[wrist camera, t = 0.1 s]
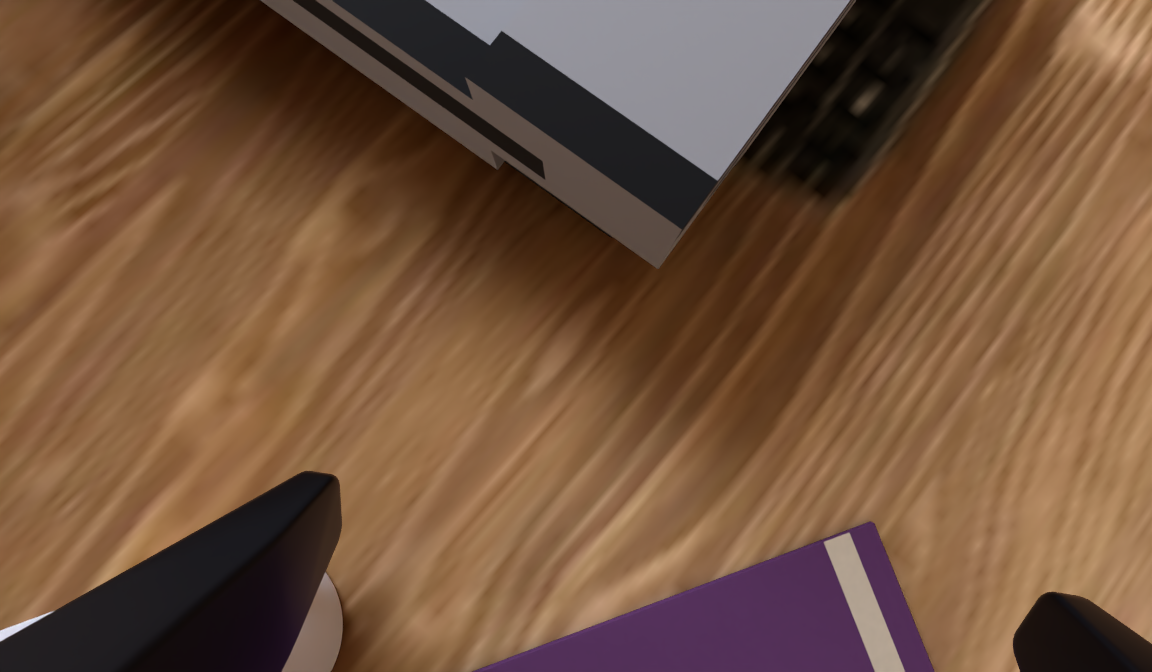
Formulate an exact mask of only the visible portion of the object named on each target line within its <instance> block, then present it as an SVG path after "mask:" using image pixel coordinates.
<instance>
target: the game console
mask: <svg viewBox="0 0 1152 672" xmlns="http://www.w3.org/2000/svg"><path fill="white" fill-rule="evenodd" d="M260 1H262V2H263V3H265V4H266V5H267V6H269V7H270V8H272V9H273V10H274V11H276V12H277V13H279V14H280V15H281V16H283V17H284V18H286V19H287V20H288V21H290V22H291V23H293V24H294V25H295V26H297V27H298V28H300V29H301V30H302V31H304V32H305V33H307V34H308V35H309V36H311V37H312V38H314V39H315V40H316V41H318V42H319V43H321V44H322V45H323V46H325V47H326V48H328V49H329V50H330V51H332V52H333V53H335V54H336V55H337V56H339V57H340V58H342V59H343V60H344V61H346V62H347V63H349V64H350V65H351V66H353V67H354V68H356V69H357V70H358V71H360V72H361V73H363V74H364V75H365V76H367V77H368V78H370V79H371V80H372V81H374V82H375V83H377V84H378V85H379V86H381V87H382V88H384V89H385V90H386V91H388V92H389V93H391V94H392V95H393V96H395V97H396V98H398V99H399V100H400V101H402V102H403V103H405V104H406V105H407V106H409V107H410V108H412V109H413V110H414V111H416V112H417V113H419V114H420V115H421V116H423V117H424V118H426V119H427V120H428V121H430V122H431V123H433V124H434V125H435V126H437V127H438V128H440V129H441V130H442V131H444V132H445V133H447V134H448V135H449V136H451V137H452V138H454V139H455V140H456V141H458V142H459V143H461V144H462V145H463V146H465V147H466V148H468V149H469V150H470V151H472V152H473V153H475V154H476V155H477V156H479V157H480V158H482V159H483V160H484V161H486V162H487V163H489V164H490V165H491V166H493V167H494V168H496V169H497V170H498V169H499V168H500V166H501V165H502V164H503V162H506V163H507V164H508V165H510V166H511V167H513V168H514V169H516V170H517V171H518V172H520V173H521V174H523V175H524V176H525V177H527V178H528V179H530V180H531V181H532V182H534V183H535V184H537V185H538V186H539V187H541V188H542V189H544V190H545V191H546V192H548V193H549V194H551V195H552V196H553V197H555V198H556V199H558V200H559V201H560V202H562V203H563V204H565V205H566V206H567V207H569V208H570V209H572V210H573V211H574V212H576V213H577V214H579V215H580V216H581V217H583V218H584V219H586V220H587V221H589V222H590V223H591V224H593V225H594V226H596V227H597V228H598V229H600V230H601V231H603V232H604V233H605V234H607V235H608V236H610V237H613V238H615V239H616V240H618V241H619V242H620V243H622V244H623V245H625V246H626V247H627V248H629V249H630V250H632V251H633V252H634V253H636V254H637V255H639V256H640V257H642V258H643V259H644V260H646V261H647V262H649V263H650V264H651V265H653V266H654V267H656V268H657V269H659V267H660V266H661V265H662V263H663V262H664V261H665V259H666V258H667V257H668V255H669V254H670V252H671V251H672V250H673V248H674V247H675V246H676V244H677V243H678V242H679V240H680V239H681V237H682V236H683V235H684V233H685V232H686V231H687V229H688V228H689V227H690V225H691V224H692V222H693V221H694V220H695V218H696V217H697V216H698V214H699V213H700V212H701V210H702V209H703V207H704V206H705V205H706V203H707V202H708V201H709V199H710V198H711V196H712V195H713V194H714V192H715V191H716V190H717V188H718V187H719V186H720V184H721V183H722V181H723V180H724V179H725V177H726V176H727V175H728V173H729V172H730V171H731V169H732V168H733V166H736V164H737V163H738V162H739V160H740V159H741V157H742V156H743V155H744V153H745V152H746V151H747V149H748V148H749V147H750V145H751V144H752V142H753V141H754V140H755V138H756V137H757V136H758V134H759V133H760V131H761V130H762V129H763V127H764V126H765V125H766V123H767V122H768V121H769V119H770V118H771V116H772V115H773V114H774V112H775V111H776V110H777V108H778V107H779V106H780V104H781V103H782V101H783V100H784V99H785V97H786V96H787V95H788V93H789V92H790V91H791V89H792V88H793V86H794V85H795V84H796V82H797V81H798V80H799V78H800V77H801V76H802V74H803V73H804V71H805V70H806V69H807V67H808V66H809V65H810V63H811V62H812V60H813V59H814V58H815V56H816V55H817V54H818V52H819V51H820V50H821V48H822V47H823V45H824V44H825V43H826V41H827V40H828V39H829V37H830V36H831V35H832V33H833V32H834V30H835V29H836V28H837V26H838V25H839V24H840V22H841V21H842V20H843V18H844V17H845V15H846V14H847V13H848V11H849V10H850V9H851V7H852V6H853V5H854V3H855V2H856V0H260Z"/></svg>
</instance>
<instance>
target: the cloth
mask: <svg viewBox="0 0 1152 672" xmlns="http://www.w3.org/2000/svg"><path fill="white" fill-rule="evenodd" d="M473 672H934V669H933V667H932V665H931V662H930V660H929V657H928V655H927V652H926V650H925V647H924V645H923V642H922V640H921V637H920V635H919V632H918V630H917V628H916V625H915V623H914V620H913V618H912V615H911V613H910V610H909V608H908V605H907V603H906V600H905V598H904V595H903V593H902V591H901V588H900V586H899V583H898V581H897V578H896V576H895V573H894V571H893V568H892V566H891V563H890V561H889V558H888V556H887V554H886V551H885V549H884V546H883V544H882V541H881V539H880V536H879V534H878V531H877V529H876V526H875V524H874V523H873V522H868V523H865V524H862V525H860V526H857V527H854V528H852V529H849V530H846V531H844V532H841V533H839V534H836V535H833V536H831V537H828V538H825V539H823V540H820V541H817V542H815V543H812V544H809V545H807V546H804V547H801V548H799V549H796V550H793V551H791V552H788V553H786V554H783V555H780V556H778V557H775V558H772V559H770V560H767V561H764V562H762V563H759V564H756V565H754V566H751V567H748V568H746V569H743V570H740V571H738V572H735V573H733V574H730V575H727V576H725V577H722V578H719V579H717V580H714V581H711V582H709V583H706V584H703V585H701V586H698V587H695V588H693V589H690V590H687V591H685V592H682V593H679V594H677V595H674V596H672V597H669V598H666V599H664V600H661V601H658V602H656V603H653V604H650V605H648V606H645V607H642V608H640V609H637V610H634V611H632V612H629V613H626V614H624V615H621V616H619V617H616V618H613V619H611V620H608V621H605V622H603V623H600V624H597V625H595V626H592V627H589V628H587V629H584V630H581V631H579V632H576V633H573V634H571V635H568V636H566V637H563V638H560V639H558V640H555V641H552V642H550V643H547V644H544V645H542V646H539V647H536V648H534V649H531V650H528V651H526V652H523V653H520V654H518V655H515V656H513V657H510V658H507V659H505V660H502V661H499V662H497V663H494V664H491V665H489V666H486V667H483V668H481V669H478V670H475V671H473Z"/></svg>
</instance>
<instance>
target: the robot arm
mask: <svg viewBox="0 0 1152 672" xmlns="http://www.w3.org/2000/svg"><path fill="white" fill-rule="evenodd" d="M341 527H342V516H341V499H340V484H339V480H338V478H337V477H336V476H334V475H332V474H326V473H320V472H314V471H304V472H301V473H299V474H297V475H296V476H294V477H292V478H290V479H288V480H287V481H285V482H283V483H281V484H279V485H278V486H276V487H274V488H272V489H271V490H269V491H267V492H265V493H263V494H262V495H260V496H258V497H256V498H255V499H253V500H251V501H249V502H247V503H246V504H244V505H242V506H240V507H239V508H237V509H235V510H233V511H231V512H230V513H228V514H226V515H224V516H223V517H221V518H219V519H217V520H215V521H214V522H212V523H210V524H208V525H207V526H205V527H203V528H201V529H199V530H198V531H196V532H194V533H192V534H190V535H189V536H187V537H185V538H183V539H182V540H180V541H178V542H176V543H174V544H173V545H171V546H169V547H167V548H166V549H164V550H162V551H160V552H158V553H157V554H155V555H153V556H151V557H150V558H148V559H146V560H144V561H142V562H141V563H139V564H137V565H135V566H134V567H132V568H130V569H128V570H126V571H125V572H123V573H121V574H119V575H118V576H116V577H114V578H112V579H110V580H109V581H107V582H105V583H103V584H102V585H100V586H98V587H96V588H94V589H93V590H91V591H89V592H87V593H85V594H84V595H82V596H80V597H78V598H77V599H75V600H73V601H71V602H69V603H68V604H66V605H64V606H62V607H61V608H59V609H57V610H55V611H53V612H52V613H50V614H48V615H46V616H45V617H43V618H41V619H39V620H37V621H36V622H34V623H32V624H30V625H29V626H27V627H25V628H23V629H21V630H20V631H18V632H16V633H14V634H13V635H11V636H9V637H7V638H5V639H4V640H2V641H0V672H282V670H283V668H284V666H285V664H286V662H287V660H288V658H289V656H290V654H291V652H292V649H293V647H294V645H295V643H296V640H297V638H298V636H299V633H300V631H301V629H302V626H303V624H304V621H305V619H306V617H307V614H308V612H309V610H310V607H311V605H312V602H313V600H314V598H315V595H316V593H317V591H318V588H319V586H320V583H321V581H322V579H323V576H324V574H325V572H326V569H327V567H328V564H329V562H330V560H331V557H332V555H333V552H334V550H335V548H336V545H337V543H338V540H339V537H340V533H341ZM1013 649H1014V654H1015V658H1016V660H1017V663H1018V666H1019V669H1020V672H1152V644H1151V643H1150V642H1148V641H1147V640H1145V639H1144V638H1143V637H1141V636H1140V635H1138V634H1137V633H1135V632H1134V631H1133V630H1131V629H1130V628H1128V627H1127V626H1125V625H1124V624H1123V623H1121V622H1120V621H1118V620H1117V619H1115V618H1114V617H1113V616H1111V615H1110V614H1108V613H1107V612H1105V611H1104V610H1103V609H1101V608H1100V607H1098V606H1097V605H1096V604H1094V603H1093V602H1091V601H1090V600H1088V599H1086V598H1083V597H1080V596H1076V595H1069V594H1063V593H1057V592H1047V593H1045V594H1043V595H1041V596H1040V597H1039V598H1038V600H1037V601H1036V603H1035V604H1034V606H1033V607H1032V609H1031V610H1030V611H1029V613H1028V614H1027V616H1026V617H1025V619H1024V620H1023V622H1022V623H1021V625H1020V626H1019V628H1018V629H1017V630H1016V632H1015V635H1014V638H1013Z"/></svg>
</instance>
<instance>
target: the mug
mask: <svg viewBox="0 0 1152 672" xmlns="http://www.w3.org/2000/svg"><path fill="white" fill-rule="evenodd" d="M52 612H53V611H52ZM52 612H50V613H52ZM50 613H47V614H44V615H41V616H39V617H36V618H33V619H31V620H28V621H25V622H22V623H20V624H17V625H14V626H11V627H9V628H6V629H3V630H1V631H0V641H2V640H4V639H5V638H7V637H9V636H11V635H13V634H14V633H16V632H18V631H20V630H21V629H23V628H25V627H27V626H29V625H30V624H32V623H34V622H36V621H37V620H39V619H41V618H43V617H45V616H46V615H48V614H50ZM342 632H343V617H342V610H341V604H340V601H339V597H338V594H337V592H336V589H335V587H334V585H333V583H332V581H331V580H330V578H329V576H328V575H327V574H326V572H325V574H324V576H323V579H322V581H321V583H320V586H319V588H318V591H317V593H316V595H315V598H314V600H313V602H312V605H311V607H310V610H309V612H308V614H307V617H306V619H305V621H304V624H303V626H302V629H301V631H300V633H299V636H298V638H297V640H296V643H295V645H294V647H293V649H292V652H291V654H290V656H289V658H288V660H287V662H286V664H285V666H284V668H283V670H282V672H331V670H332V668H333V666H334V664H335V662H336V659H337V656H338V653H339V650H340V646H341V641H342Z"/></svg>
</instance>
